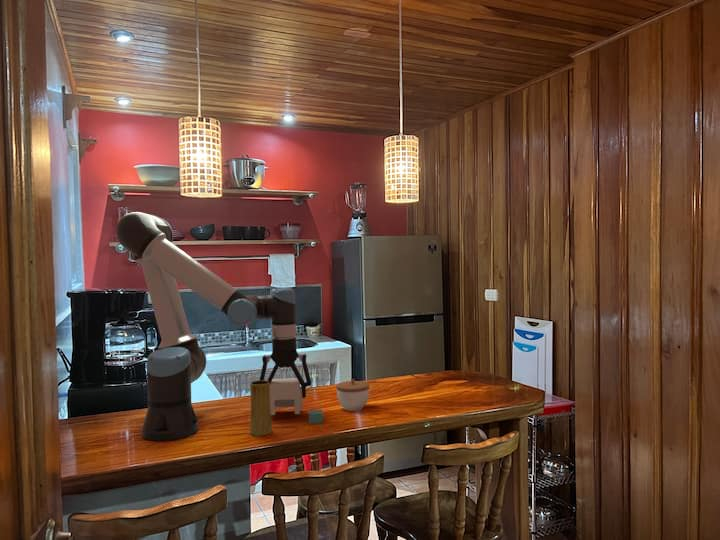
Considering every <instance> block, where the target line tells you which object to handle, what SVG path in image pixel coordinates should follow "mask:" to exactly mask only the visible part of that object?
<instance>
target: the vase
mask: <svg viewBox="0 0 720 540" xmlns="http://www.w3.org/2000/svg"><path fill="white" fill-rule="evenodd" d="M249 386H250V429H249V433H250V435H252V436H256V437H263V436H267V435H270V434H271V433H272V432H273V428H272V415H271V410H270V386H269V381H267V380H265V379H264V380H260V379H259V380H254V381H251V382H250V385H249Z"/></svg>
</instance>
